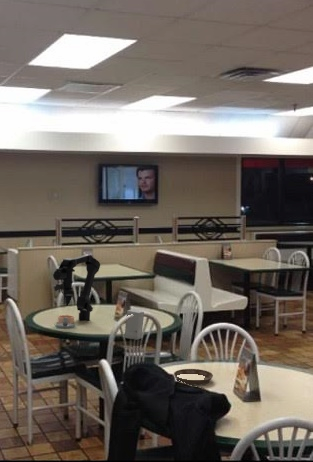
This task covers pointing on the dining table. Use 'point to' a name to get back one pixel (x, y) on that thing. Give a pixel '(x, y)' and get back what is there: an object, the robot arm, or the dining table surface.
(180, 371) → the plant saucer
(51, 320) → the dining table surface
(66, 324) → the lid
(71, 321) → the bowl
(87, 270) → the robot arm
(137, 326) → the skincare box
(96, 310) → the dining table surface
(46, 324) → the dining table surface
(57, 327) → the mat
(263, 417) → the dining table surface
